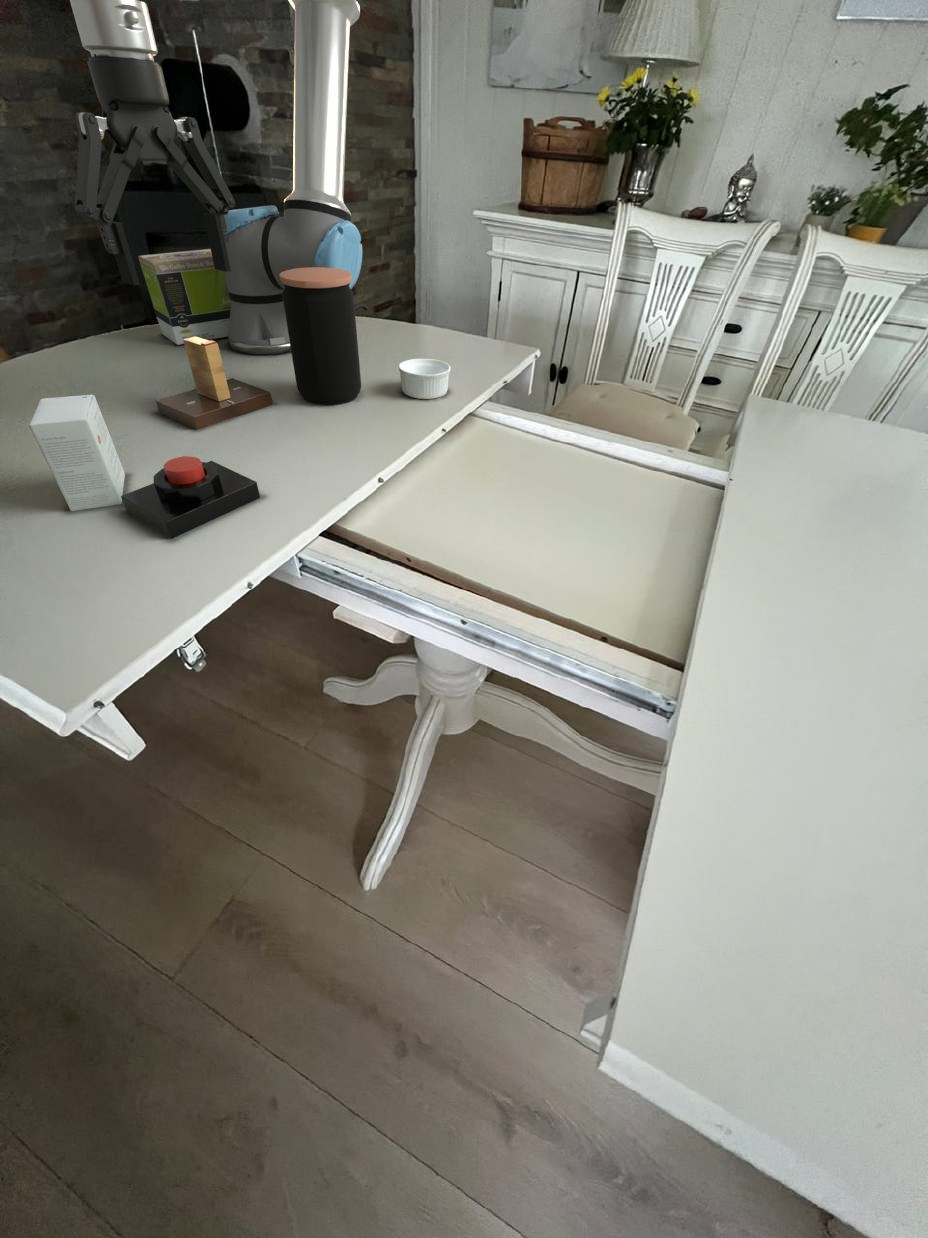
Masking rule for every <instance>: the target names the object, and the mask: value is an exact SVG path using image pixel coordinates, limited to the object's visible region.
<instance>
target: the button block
mask: <svg viewBox="0 0 928 1238" xmlns="http://www.w3.org/2000/svg"><path fill="white" fill-rule="evenodd" d="M201 462H202V466H203V469H204V473H205V477H204V478H203V479H201V480H198V481H196V482H194V483H189V484H182V485H180V484H171V483H170V482H169V481H168V479H167V476H166V473H165V470H164V467H163V468H161V469H160V470H159V471H157V472H156V473H155V474H154V475H153V483H151V484H148V485H145V486H143V487H140V488H137V489H135V490H132V491H130V492H127V493H125V494H123V495H122V496H121V498H122V504H123V505H124V508H125V510H126V513H127V514H128V515H131V516H132V517H134V518H135V519H137V520H139V521H140V522H141V523H144V524H146V525H147V526H149V528H152V529H154V530H155V531H156V532H158V533H160V534H162V535H164V536H165V537H167V538H168V539H171V540H173V539H175V538H177V537H179V536H180V535H183V534H186V533H188V532H190V531H192V530H194V529H196V528H199V527H201V526H203V525H205V524H207V523H210V522H211V521H212V522H213V521H214V520H217V519H219V518H220V517H222V516H224V515H226V514H229V513H231V512H233V511H236V510H237V509H239V508H242V507H244V506H246V505H248V504H250V503H253V502H255V501H257V500H259V499H261V495H260V489H259V486H258V482H257V481H255V480H253V479H251V478H249V477H247V476H245V475H243V474H241V473H239V472H236V471H235V470H232V469H230V468H228V467H227V466H225V465H222V464H219V463H218V462H215V461H214V460H210V461H207V462H205V461H201Z"/></svg>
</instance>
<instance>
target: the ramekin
mask: <svg viewBox="0 0 928 1238" xmlns="http://www.w3.org/2000/svg"><path fill="white" fill-rule="evenodd" d="M451 368H452V367H451V365H450V364H449V363H447V362H446V361H442V360H440V359H434V358H411V359H407V360H404V361H402V362H400V363H399V364H398V371H399V375H400V383H401V384H400V385H401V391H402V392H403V393H404V394H405V395H406V396H408V397H410V398H414V399H420V400H432V399H433V400H434V399H437V398H442V397H443V396H445V395H446V394H447V393H448V389H449V379H450V373H451V370H452V369H451Z"/></svg>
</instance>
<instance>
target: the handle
mask: <svg viewBox="0 0 928 1238" xmlns="http://www.w3.org/2000/svg"><path fill="white" fill-rule="evenodd" d="M183 341H184V344H183V345H184V349H185V352H186V356H187V359H188V364H189V366H190V371H191V374H192V378H193V381H194V384H195V388H196V389H197V392H198V394H201V395H203V396H206V397H208V398H211V399H213V400H216V401H218V402H219V401H223V400H226V399H229V398H231V397H230V393H229V389H228V385H227V376H226V373H225V368H224V364H223V359H222V354H221V351H220V348H219V343H217V342H216V341H215V340H213V339H211V340H205V339H202V338H199V337H196V336H195V337H191V338H187V339H183Z"/></svg>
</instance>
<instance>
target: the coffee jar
mask: <svg viewBox="0 0 928 1238" xmlns="http://www.w3.org/2000/svg"><path fill="white" fill-rule="evenodd" d="M279 277H280V281H281V282H282V283H283V284H284V288H285V289H284V290H283V292H282V297H283V303H284V309H285V315H286V322H287V328H288V334H289V340H290V347H291V351H290V353H291V358H292V364H293V371H294V378H295V384H296V389H297V391H298V394H299V395H300V396H301V397H302V398H303V400H304V401H306V402H307V403H310V404H314V405H319V406H336V405H343V404H348V403H350V402H352V401H355V400H356V399H357V398H358V396H359V395H360V393H361V390H362V378H361V367H360V355H359V354H360V353H359V343H358V342H359V341H358V332H357V331H358V330H357V319H356V311H355V306H356V305H355V297H354V296H355V295H354V291H353V290H352V289H350V287H349V284H350V283H351V281H352V274H351V273H350V272H348V271H345V270H342V269H336V268H326V267H307V268H296V269H290V270H286V271H283V272H281V273H280V274H279Z"/></svg>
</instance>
